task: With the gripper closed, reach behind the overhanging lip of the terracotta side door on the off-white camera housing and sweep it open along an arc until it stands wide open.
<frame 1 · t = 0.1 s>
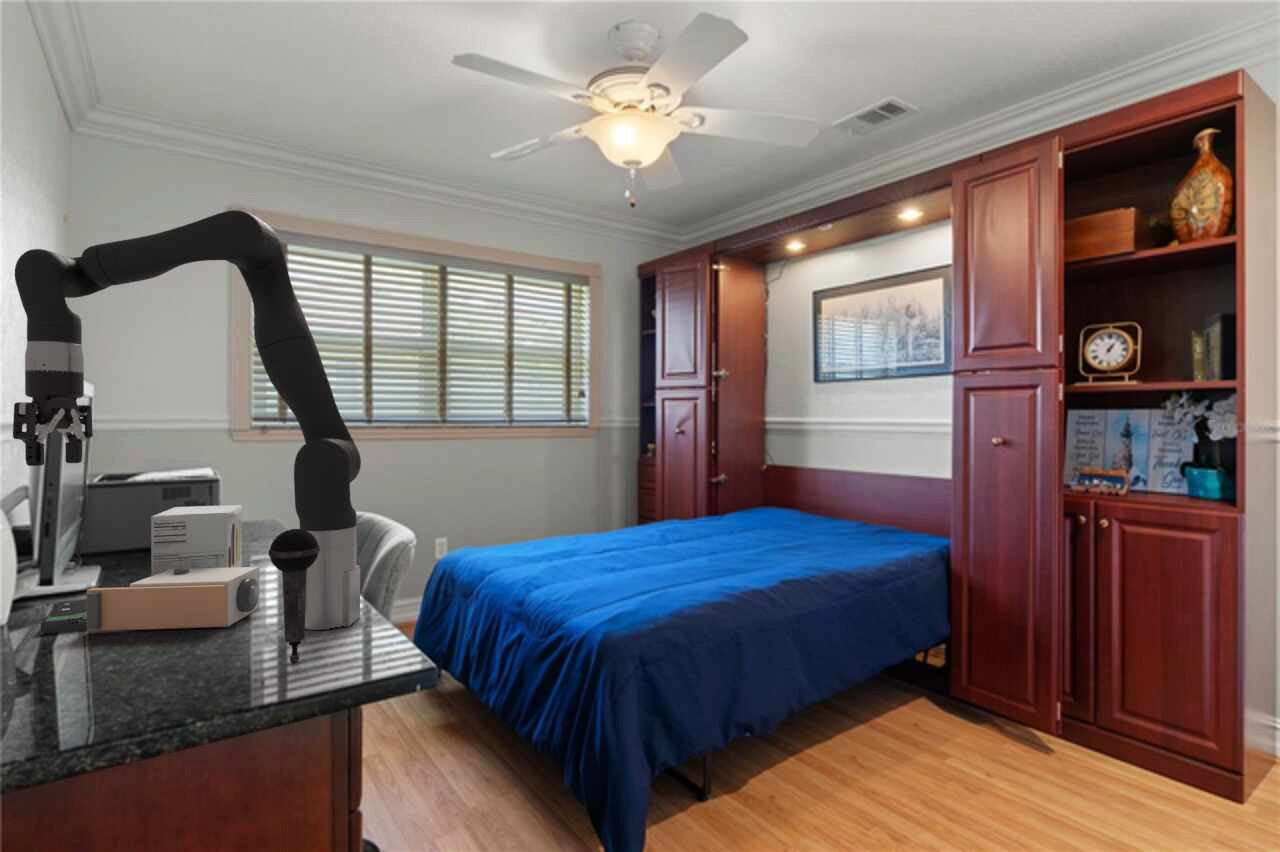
hand: (55, 464, 112), 29 cm above the table, tool pointing down, fingers open, 8 cm apart
disk drive: (87, 623, 120), on the table
microphone: (294, 663, 98), on the table
camera housing: (198, 618, 120), on the table
supplement box: (200, 596, 137), on the table
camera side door: (156, 608, 113), point 4 cm above the table, hinge at 0.0°
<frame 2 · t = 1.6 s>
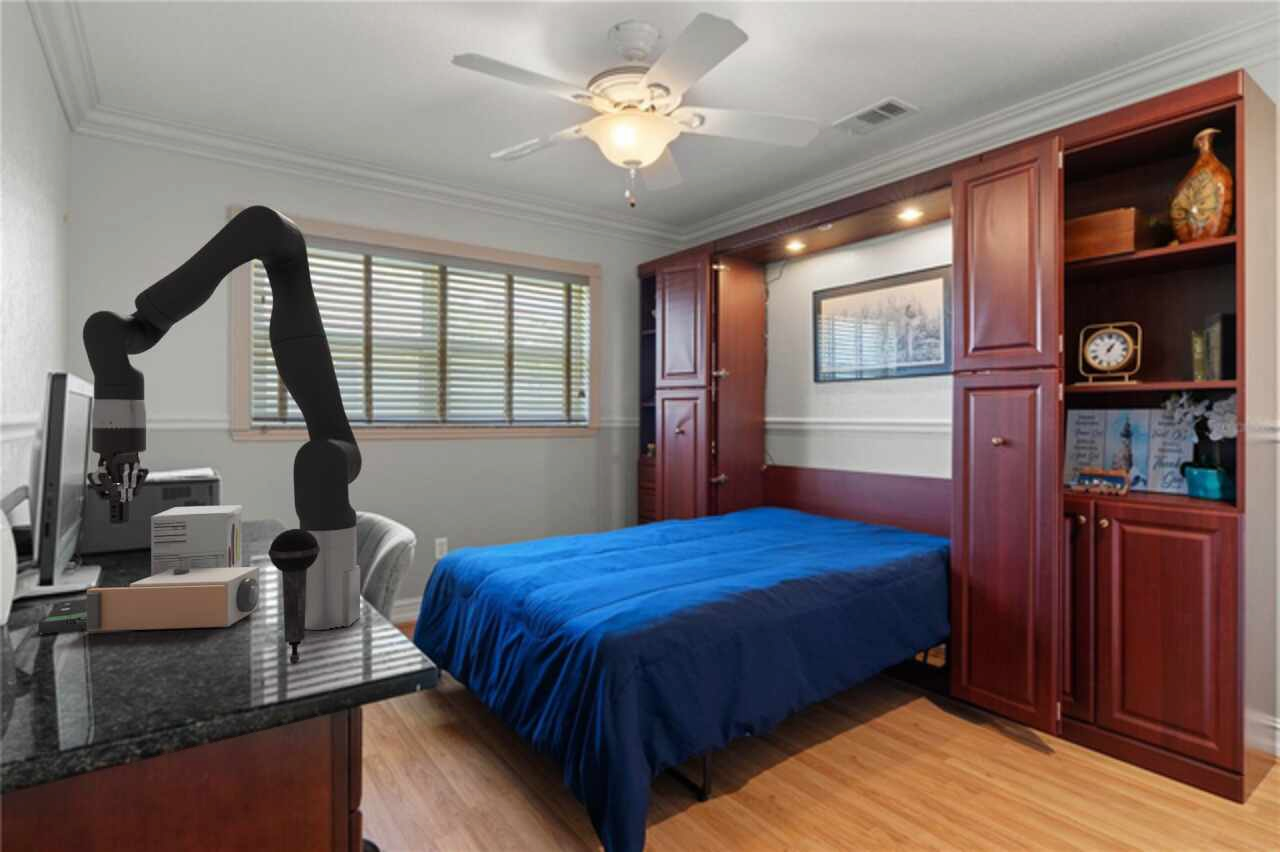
hand: (119, 523, 116), 18 cm above the table, tool pointing down, fingers closed
nothing on the table moved.
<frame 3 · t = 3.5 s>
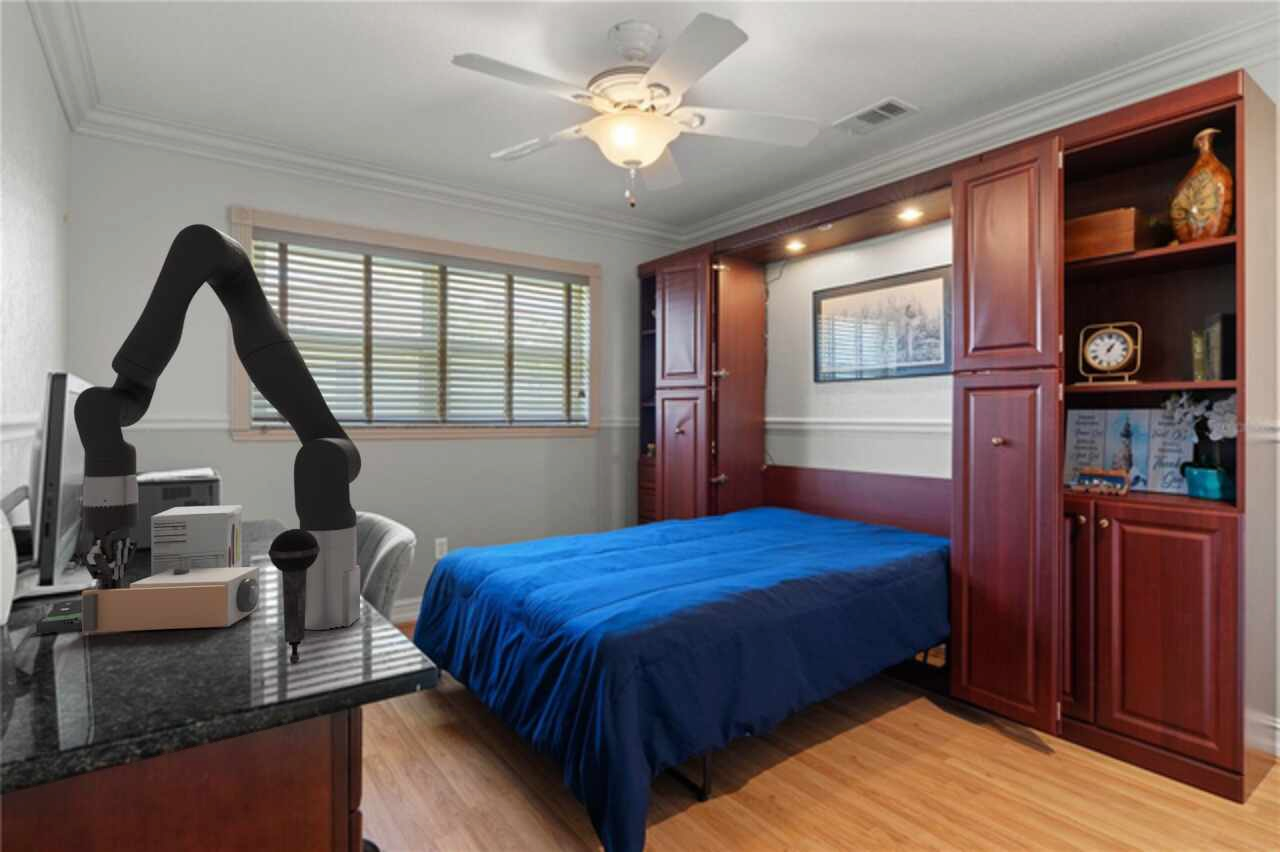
hand: (111, 600, 114), 5 cm above the table, tool pointing down, fingers closed
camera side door: (154, 609, 112), point 4 cm above the table, hinge at 3.2°, touching gripper
everything else where it was.
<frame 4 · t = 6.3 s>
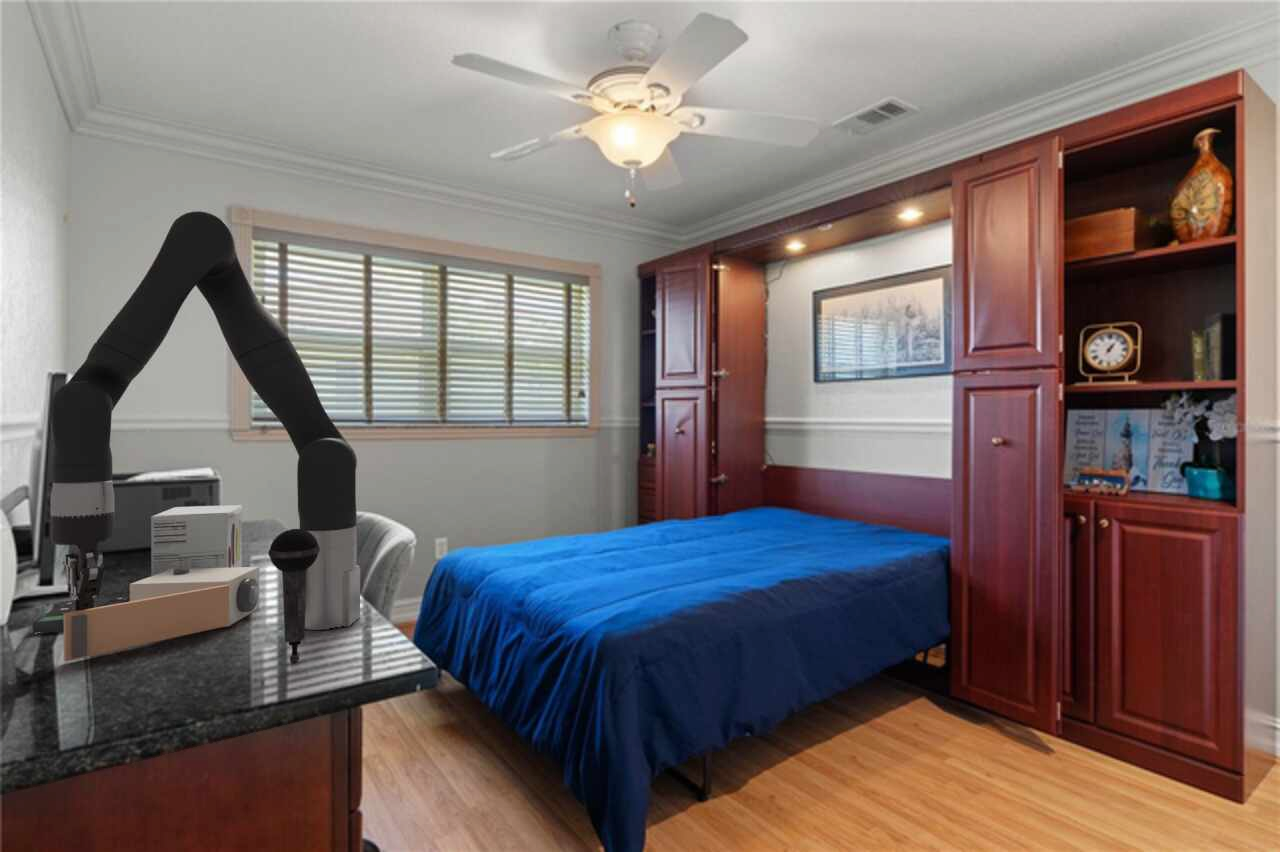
hand: (83, 622, 101), 5 cm above the table, tool pointing down, fingers closed
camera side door: (154, 620, 106), point 4 cm above the table, hinge at 46.0°, touching gripper
everything else where it was.
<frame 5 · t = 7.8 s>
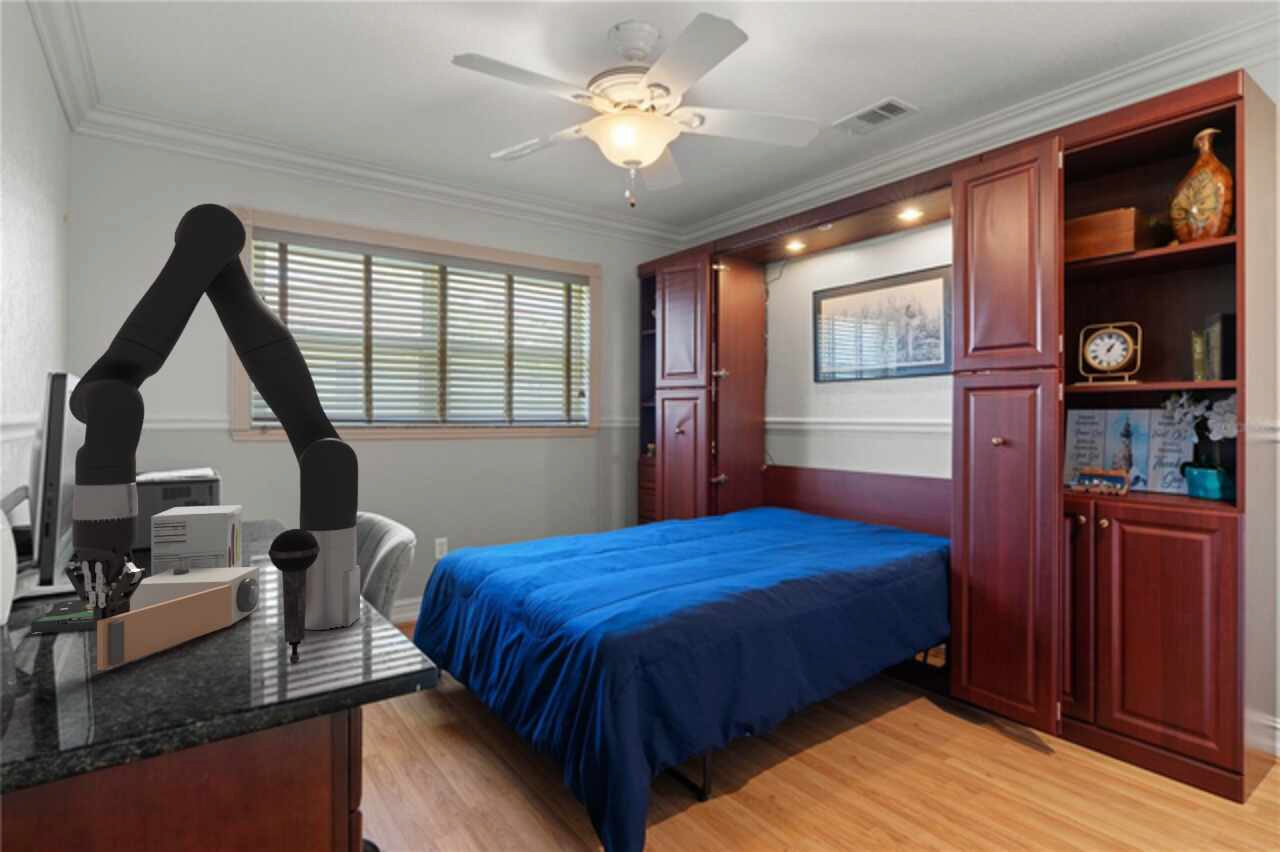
hand: (105, 630, 97), 5 cm above the table, tool pointing down, fingers closed
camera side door: (173, 623, 104), point 4 cm above the table, hinge at 70.1°, touching gripper
everything else where it was.
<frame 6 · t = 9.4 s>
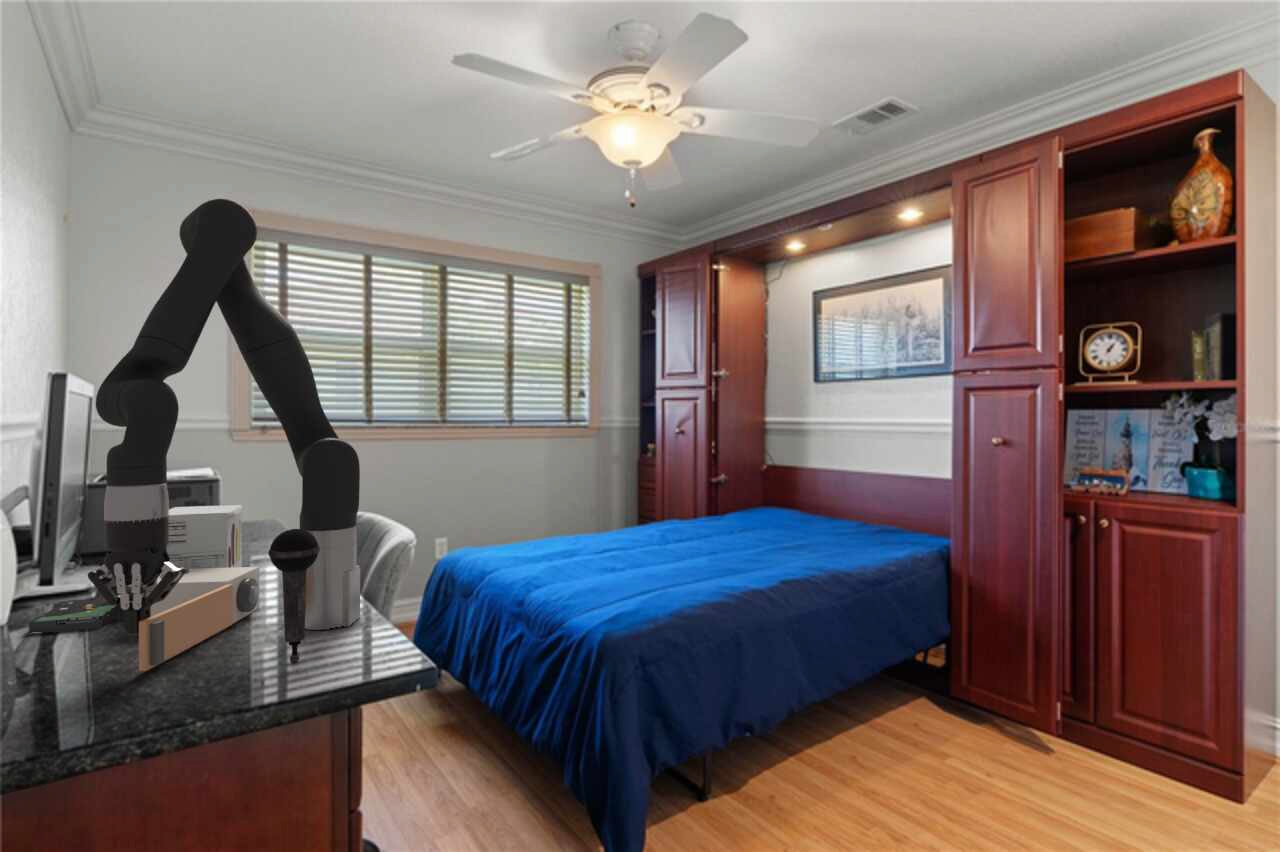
hand: (137, 633, 96), 5 cm above the table, tool pointing down, fingers closed
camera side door: (194, 623, 104), point 4 cm above the table, hinge at 86.9°, touching gripper
everything else where it was.
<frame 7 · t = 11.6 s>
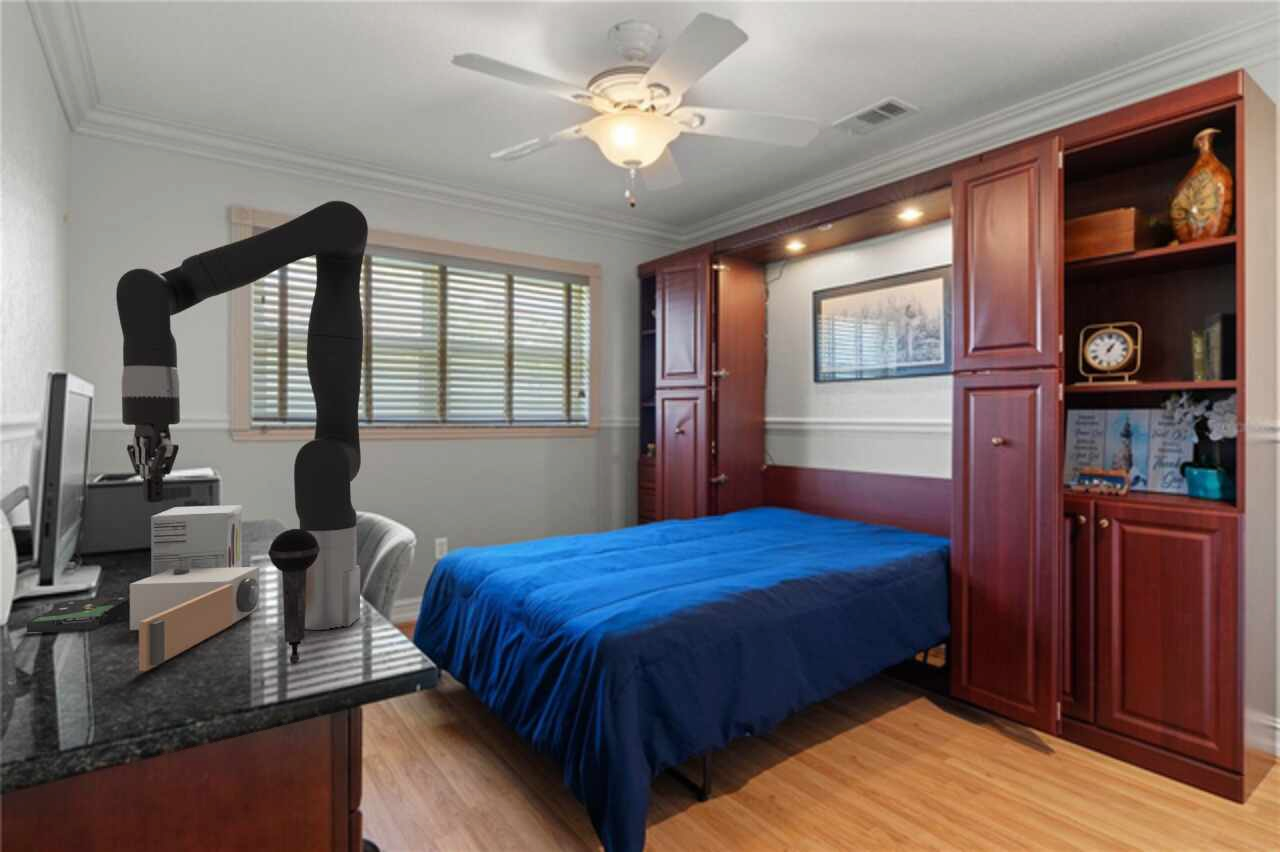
hand: (153, 501, 106), 23 cm above the table, tool pointing down, fingers closed
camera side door: (194, 623, 104), point 4 cm above the table, hinge at 86.9°
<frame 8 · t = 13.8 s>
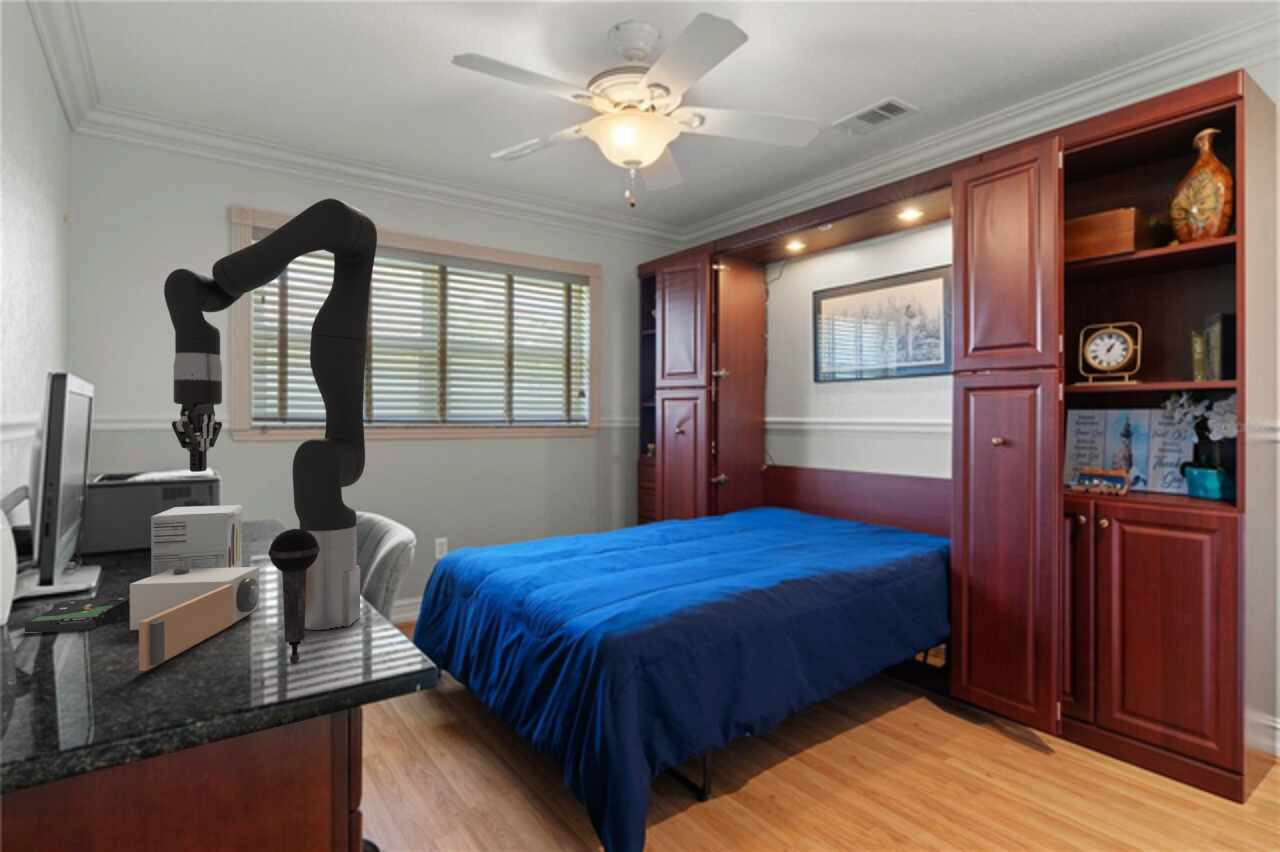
hand: (198, 471, 122), 27 cm above the table, tool pointing down, fingers closed
at the end: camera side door at +87° (first picture: +0°); disk drive moved 1.2 cm from its start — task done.
